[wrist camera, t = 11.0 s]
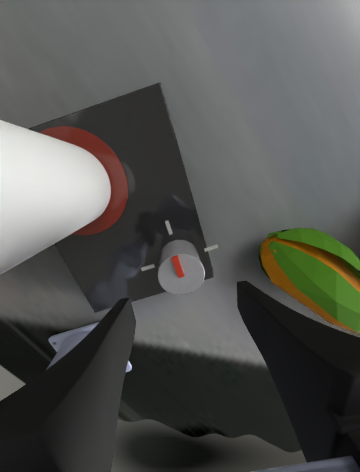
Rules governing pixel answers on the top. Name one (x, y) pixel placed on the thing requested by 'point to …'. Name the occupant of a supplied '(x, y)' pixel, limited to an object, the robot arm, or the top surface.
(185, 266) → the knob
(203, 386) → the top surface
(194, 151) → the top surface
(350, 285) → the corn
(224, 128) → the top surface
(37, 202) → the can
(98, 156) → the burner ring
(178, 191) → the hob
